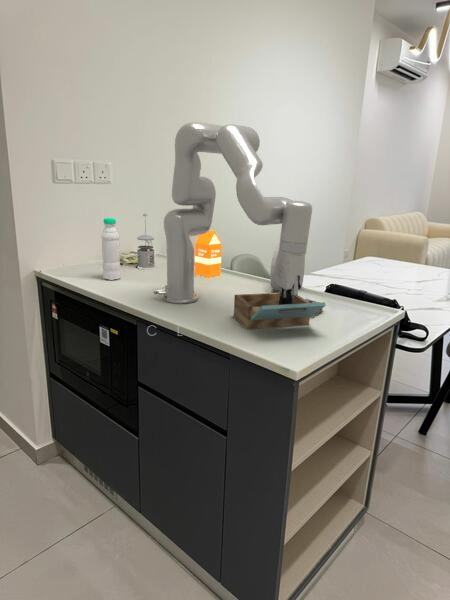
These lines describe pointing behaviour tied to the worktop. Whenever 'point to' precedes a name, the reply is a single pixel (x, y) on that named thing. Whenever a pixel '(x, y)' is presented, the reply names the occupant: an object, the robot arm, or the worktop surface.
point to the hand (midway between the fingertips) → (284, 309)
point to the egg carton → (316, 312)
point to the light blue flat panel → (287, 311)
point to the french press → (145, 251)
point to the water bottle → (110, 250)
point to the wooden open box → (252, 302)
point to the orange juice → (208, 255)
